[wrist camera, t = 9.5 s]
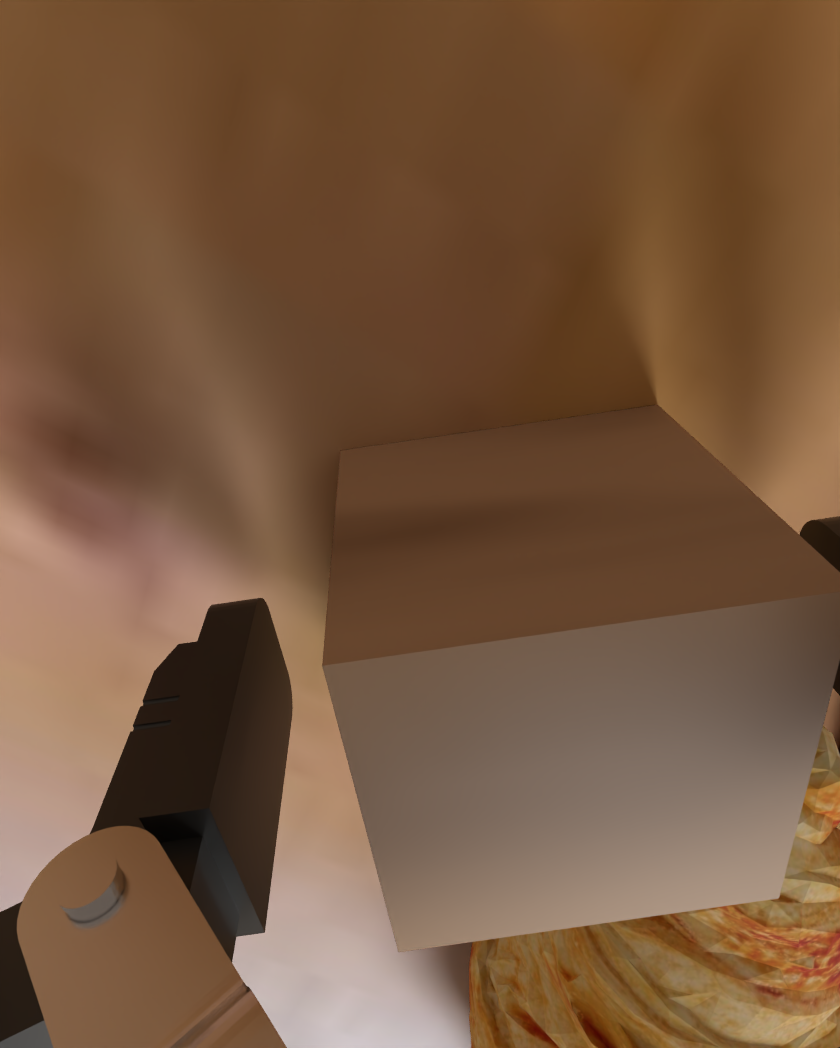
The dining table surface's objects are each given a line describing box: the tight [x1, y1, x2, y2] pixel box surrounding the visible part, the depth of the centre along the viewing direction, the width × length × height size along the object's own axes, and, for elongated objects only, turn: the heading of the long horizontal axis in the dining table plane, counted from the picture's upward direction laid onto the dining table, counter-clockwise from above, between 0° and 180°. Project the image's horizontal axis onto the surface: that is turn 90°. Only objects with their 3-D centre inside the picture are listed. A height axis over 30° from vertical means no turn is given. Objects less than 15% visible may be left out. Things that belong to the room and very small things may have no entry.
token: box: [322, 405, 840, 952], centre depth 10 cm, size 5×5×5 cm
